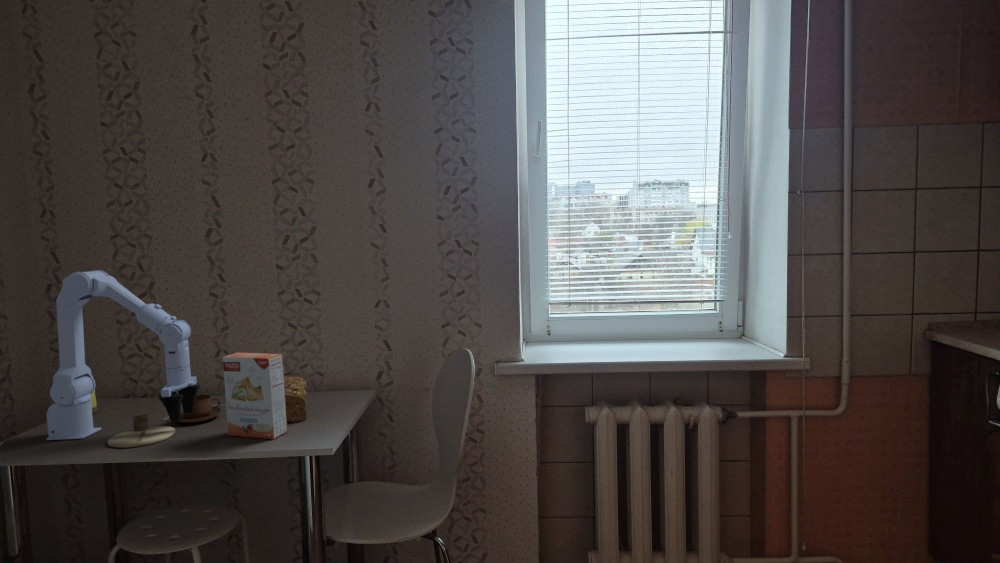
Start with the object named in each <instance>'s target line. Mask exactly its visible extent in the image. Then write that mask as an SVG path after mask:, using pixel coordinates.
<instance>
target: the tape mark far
mask: <svg viewBox="0 0 1000 563" xmlns="http://www.w3.org/2000/svg"><path fill="white" fill-rule="evenodd" d="M211 405H212V406H217V405H218V404H211ZM219 407H226V404H220V406H219Z"/></svg>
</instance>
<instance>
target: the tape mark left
mask: <svg viewBox="0 0 1000 563" xmlns="http://www.w3.org/2000/svg"><path fill="white" fill-rule="evenodd" d="M168 419H170V418H169V415H167V416H166V417H164V418H162V419H161V421H166V420H168Z"/></svg>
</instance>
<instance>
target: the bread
mask: <svg viewBox="0 0 1000 563" xmlns="http://www.w3.org/2000/svg"><path fill="white" fill-rule="evenodd" d="M284 389H285V404H286V419H287V423H289V422H291V423H297V422H303V421H306V420H307V414H308V413H307V410H308V409H307V408H308V404H307V399H308V397H307V394H308V382H307V381H306V380H305V379H304V378H302V377H300V376H294V375H292V374H291V375H289V374H287V375H284Z"/></svg>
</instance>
